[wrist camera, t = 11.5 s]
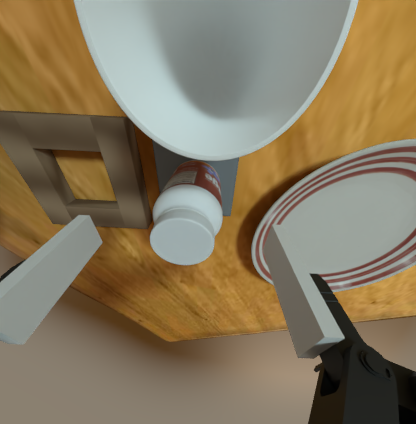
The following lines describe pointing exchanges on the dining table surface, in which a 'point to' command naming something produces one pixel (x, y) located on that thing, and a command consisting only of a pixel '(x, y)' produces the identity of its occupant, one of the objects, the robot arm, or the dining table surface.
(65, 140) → the collar
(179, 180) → the pill bottle
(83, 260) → the robot arm
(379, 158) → the dinner plate
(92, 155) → the dining table surface
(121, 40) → the mug
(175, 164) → the coaster
